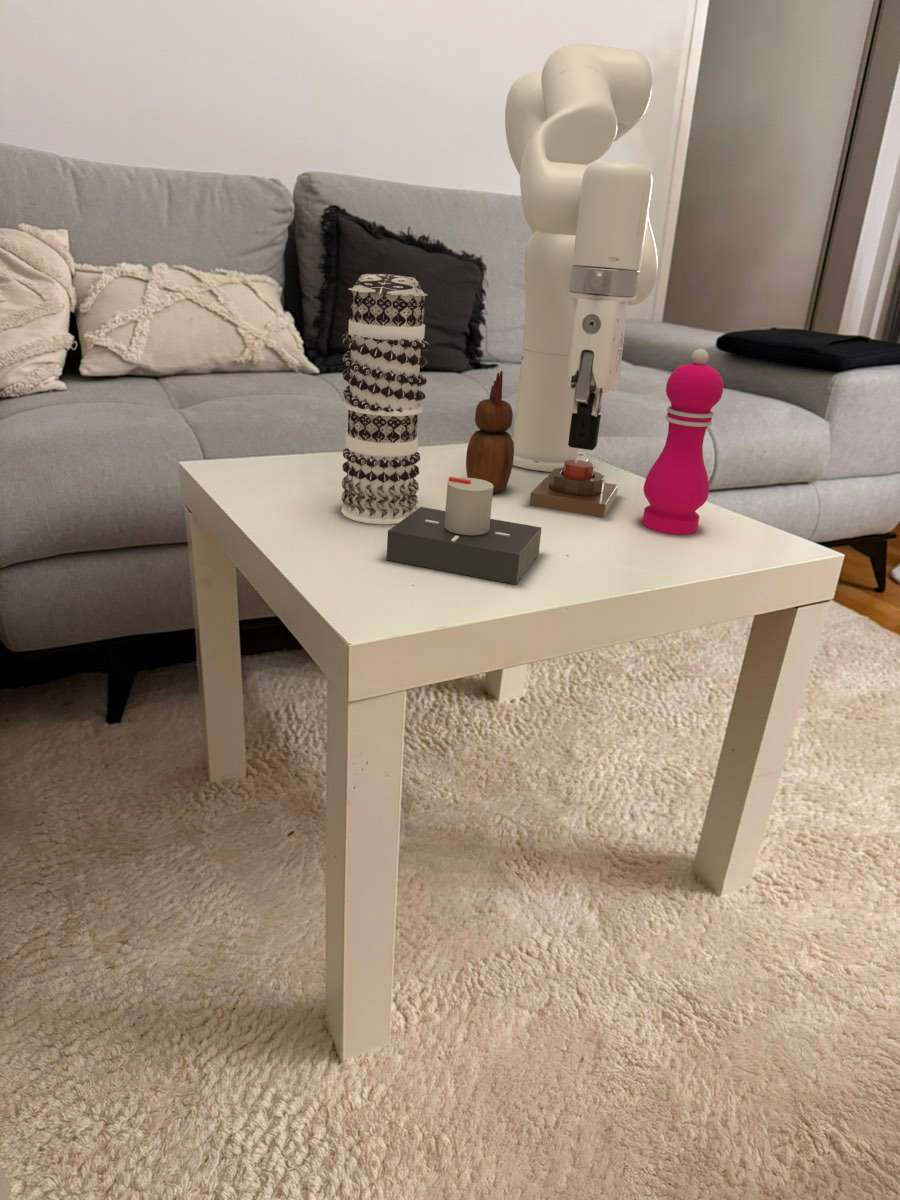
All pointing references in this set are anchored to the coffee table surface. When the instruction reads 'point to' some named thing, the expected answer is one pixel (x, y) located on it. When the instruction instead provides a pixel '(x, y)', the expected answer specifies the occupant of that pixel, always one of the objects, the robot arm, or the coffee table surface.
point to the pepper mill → (683, 449)
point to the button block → (574, 494)
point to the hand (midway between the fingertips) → (582, 447)
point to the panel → (464, 547)
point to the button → (578, 469)
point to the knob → (468, 506)
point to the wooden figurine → (492, 440)
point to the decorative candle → (383, 398)
